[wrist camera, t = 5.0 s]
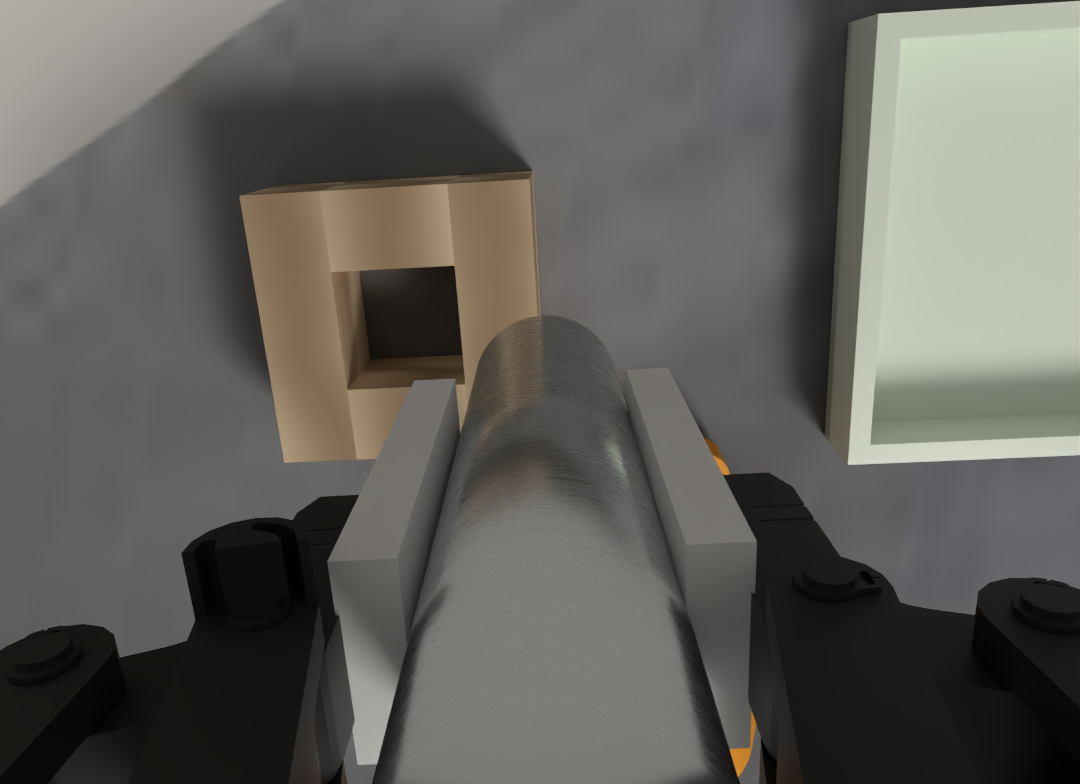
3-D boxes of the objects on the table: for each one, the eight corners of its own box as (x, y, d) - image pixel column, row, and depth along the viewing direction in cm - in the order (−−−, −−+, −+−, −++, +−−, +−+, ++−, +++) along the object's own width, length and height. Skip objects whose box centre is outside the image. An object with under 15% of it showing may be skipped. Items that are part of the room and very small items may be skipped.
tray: (824, 436, 35) (847, 464, 32) (848, 22, 30) (878, 13, 27) (1154, 421, 35) (1207, 449, 32) (1236, -3, 29) (1308, -14, 27)
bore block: (313, 425, 36) (284, 462, 32) (276, 185, 32) (239, 195, 29) (547, 414, 35) (545, 451, 31) (532, 170, 32) (529, 179, 28)
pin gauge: (480, 453, 19) (375, 1045, 7) (470, 319, 18) (324, 734, 6) (617, 446, 19) (756, 1031, 7) (614, 311, 18) (769, 713, 6)
